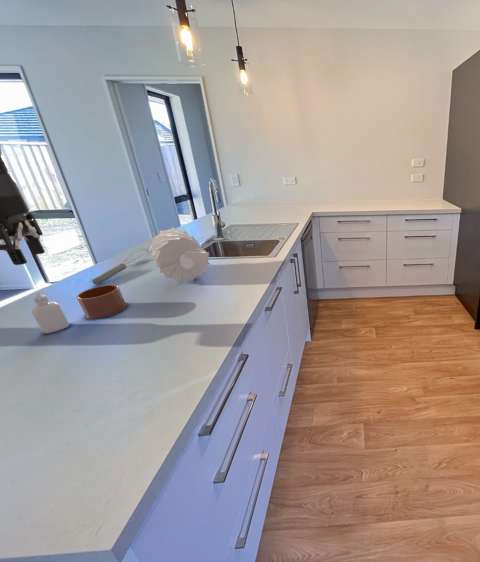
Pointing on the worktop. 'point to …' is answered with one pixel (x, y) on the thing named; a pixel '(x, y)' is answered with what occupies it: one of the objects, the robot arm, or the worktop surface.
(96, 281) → the kitchen whisk
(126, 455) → the worktop surface
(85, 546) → the worktop surface
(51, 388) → the worktop surface
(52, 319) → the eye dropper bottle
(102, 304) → the cup
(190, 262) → the spiral staircase
